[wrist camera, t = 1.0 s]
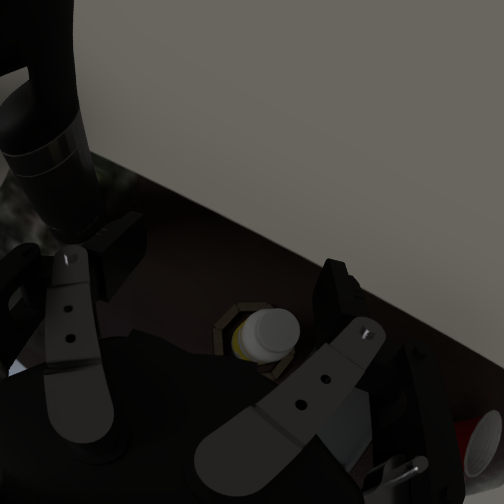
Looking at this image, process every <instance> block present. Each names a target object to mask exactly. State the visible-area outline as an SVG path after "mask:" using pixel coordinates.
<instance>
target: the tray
mask: <svg viewBox="0 0 504 504" xmlns="http://www.w3.org/2000/svg"><path fill="white" fill-rule="evenodd" d="M315 352H316V345H315V346H314V348H313V349H312V351H311V352H310V353H309V355H308V356H307V358H306V359H305V360H304V362H303V363H302V364H301V365H303V364H304V363H305V362H306V361H307V360H308V359H309V358H310V357H311V356H312V355H313V354H314V353H315ZM316 434H317V435H318V436H319V438H320V439H321V440H322V442H323V443H324V444H325V445H326V447H327V448H328V449H329V450H330V452H331V453H332V454H333V455H334V457H335V458H336V459H337V460H338V462H339V463H340V464H341V465H342V467H343V468H344V469H345V470H346V471H347V473H349V472H350V470H351V469H352V468H353V466H354V465H355V463H356V462H357V461H358V459H359V458H360V456H361V455H362V453H363V452H364V450H365V449H366V448H367V446H368V444H369V443H370V441H371V440H372V427H371V415H370V404H369V394H368V392H365V391H363V390H360V389H358V388H355V387H354V388H353V389H352V390H351V392H350V393H349V394H348V396H347V397H346V398H345V400H344V401H343V402H342V403H341V405H340V406H339V407H338V408H337V410H336V411H335V412H334V413H333V415H332V416H331V417H330V418H329V419H328V420H327V422H326V423H325V424H324V425H323V426H322V427H321V429H320V430H319V431H318V432H317V433H316Z"/></svg>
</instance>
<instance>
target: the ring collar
mask: <svg viewBox="0 0 504 504" xmlns="http://www.w3.org/2000/svg"><path fill="white" fill-rule="evenodd" d="M262 309H275V308H273V307H272V306H271V305H270V304H268V305H266V302H263V303H237V304H236V305H235V304H234V305H233V306H232V307H231V308H230V309H229V310H228V311H227V312H226V314H225V315H224V316H223V317H222V318H221V319H220V320H219V321H218V322H217V323H216V324H215V325H214V326H213V329H212V342H213V355H223V341H222V329H223V328H224V327H225V326H226V325H227V324H228V323H229V322H230V321H231V320H232V319H233V318H234V317H235V315H236V314H237V313H255V312H257V311H259V310H262ZM292 354H295V348H294V346H293V348H292V350H291V352H290V353H289V354H288V355H287V356H286V357H284V358H282V359H281V360H278V361H277V363H276V364H275V365H274V366H273V368H272V369H271V370H270V371H269V373H263V374H262V375H264V376H266V377H268V378H269V379H271V380H272V381H274V379H277V378H278V377H279V376H280V374H281V373H282V372H283V370H284V369H285V368H286V367H287V365H288V364H289V363H290V362H291V360H292V359H293V358H294V356H293V355H292Z"/></svg>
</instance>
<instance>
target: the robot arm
mask: <svg viewBox="0 0 504 504" xmlns="http://www.w3.org/2000/svg"><path fill="white" fill-rule="evenodd" d="M73 10H74V0H0V77H1V76H3V75H5V74H8V73H10V72H13V71H16V70H18V69H21V68H24V67H26V66H27V68H28V72H29V80H28V81H27V82H26V83H24V84H23V85H22V86H20V87H19V88H18V89H17V90H15V91H14V92H13V93H12V94H11V95H10V96H9V97H8V98H7V99H6V100H5V101H4V102H3V103H2V105H1V106H0V150H1V152H2V154H3V156H4V158H5V159H6V161H7V163H8V165H9V167H10V169H11V171H12V172H13V174H14V176H15V178H16V180H17V181H18V183H19V185H20V186H21V188H22V190H23V191H24V193H25V195H26V196H27V198H28V200H29V201H30V203H31V204H32V206H33V208H34V209H35V211H36V212H37V214H38V215H39V217H40V218H41V220H42V221H43V223H44V224H45V226H46V227H47V229H48V230H49V232H50V233H51V234H52V236H53V237H54V238H55V239H56V240H58V241H60V242H62V243H67V244H73V243H78V242H81V241H83V240H85V239H87V238H88V237H90V236H91V235H92V234H93V233H94V232H95V231H96V230H97V229H98V228H99V226H100V225H101V223H102V221H103V219H104V215H105V203H104V200H103V196H102V193H101V190H100V187H99V183H98V180H97V176H96V173H95V169H94V166H93V162H92V158H91V154H90V151H89V147H88V143H87V138H86V134H85V130H84V126H83V121H82V117H81V112H80V107H79V100H78V95H77V86H76V74H75V63H74V55H73V54H74V53H73ZM146 246H147V216H146V215H145V214H142V213H137V212H133V211H130V212H128V213H127V214H126V215H125V216H123V217H122V218H121V219H117V220H115V221H112V222H110V223H108V224H107V225H105V226H104V227H103V228H102V230H101V229H100V230H99V231H98V232H97V234H94V235H93V236H92V237H91V238H90V239H89V240H87V241H86V242H85V243H84V244H83V245H82V246H81V247H80V246H68V247H64V248H62V249H60V250H59V251H57V252H56V254H55V255H54V256H42V255H41V253H40V248H39V246H38V245H37V244H35V243H24V244H21V245H19V246H17V247H15V248H14V249H13V250H12V251H11V252H10V253H8V254H7V255H6V256H5V257H4V258H3V259H2V260H1V261H0V504H463V501H464V498H465V483H464V475H463V469H462V462H461V456H460V451H459V445H458V440H457V436H456V431H455V427H454V422H453V418H452V414H451V410H450V406H449V403H448V399H447V396H446V392H445V389H444V385H443V382H442V379H441V376H440V373H439V369H438V366H437V363H436V360H435V358H434V355H433V352H432V350H431V349H430V348H429V346H428V345H427V344H425V343H424V342H423V341H421V340H418V339H414V338H411V339H408V340H407V341H406V342H405V343H404V345H403V346H401V345H398V344H396V343H393V342H391V341H389V340H387V339H386V334H385V331H384V330H383V328H382V327H381V326H380V325H379V324H378V323H377V322H376V321H374V320H372V319H370V316H369V312H368V309H367V306H366V303H365V300H364V297H363V294H362V291H361V288H360V285H359V283H358V282H357V280H356V279H355V278H354V277H353V276H351V275H348V272H347V269H346V265H345V263H344V262H341V261H337V260H333V259H329V258H328V259H327V260H326V261H325V264H324V266H323V269H322V271H321V273H320V276H319V278H318V281H317V283H316V286H315V288H314V292H313V298H312V302H313V313H314V325H315V338H316V352H315V353H314V354H313V355H312V356H311V357H310V358H309V359H308V360H307V361H306V362H305V363H304V364H303V365H301V366H300V367H299V368H298V369H297V370H296V371H295V372H294V373H292V374H291V375H290V376H289V377H288V378H287V379H286V380H284V381H283V382H282V383H281V384H280V385H277V384H276V383H275V382H274V381H272V380H271V379H269V378H268V377H266V376H264V375H262V374H260V373H258V372H257V366H258V362H253V361H248V360H244V359H239V358H235V357H230V356H226V355H204V354H192V353H189V352H187V351H185V350H183V349H181V348H179V347H177V346H175V345H174V344H172V343H170V342H168V341H166V340H164V339H163V338H160V337H157V336H154V335H151V334H148V333H145V332H142V331H139V330H136V329H132V331H131V333H130V334H129V336H128V337H120V336H117V337H108V338H103V339H102V338H101V333H100V328H99V322H98V317H97V310H96V305H95V303H96V302H97V300H101V301H104V302H107V303H108V302H109V301H110V300H111V298H112V297H113V296H114V294H115V293H116V292H117V290H118V289H119V288H120V286H121V285H122V284H123V283H124V281H125V280H126V279H127V277H128V276H129V275H130V274H131V272H132V271H133V270H134V269H135V267H136V266H137V265H138V264H139V262H140V261H141V260H142V259H143V257H144V255H145V252H146ZM19 287H20V290H21V293H22V296H23V297H22V298H21V299H20V300H19V301H18V302H17V304H16V305H15V306H14V307H13V308H12V309H11V311H9V307H8V303H9V299H10V297H11V296H12V294H13V293H14V292H15V291H16V290H17V289H18V288H19ZM44 318H45V343H46V362H44V363H41V364H39V365H36V366H34V367H31V368H29V369H26V370H24V371H21V372H19V373H16V374H14V375H11V376H9V369H10V367H11V366H12V364H13V363H14V361H15V359H16V358H17V356H18V355H19V353H20V352H21V350H22V349H23V347H24V346H25V344H26V343H27V341H28V340H29V338H30V337H31V336H32V334H33V333H34V331H35V330H36V329H37V327H38V326H39V324H40V323H41V322H42V320H43V319H44ZM8 376H9V377H8ZM354 387H355V388H358V389H360V390H363V391H365V392H368V394H369V404H370V415H371V427H372V443H373V467H374V468H373V469H371V470H370V471H369V472H368V474H367V475H366V477H365V480H364V485H363V487H362V490H361V489H360V488H359V486H358V485H357V484H356V482H355V481H354V480H353V479H352V477H351V476H350V475H349V474H348V473H347V471H346V470H345V469H344V468H343V467H342V465H341V464H340V463H339V462H338V460H337V459H336V458H335V457H334V455H333V454H332V453H331V452H330V450H329V449H328V448H327V447H326V445H325V444H324V443H323V442H322V440H321V439H320V438H319V436H318V435H317V434H316V433H317V432H318V431H319V430H320V429H321V427H322V426H323V425H324V424H325V423H326V422H327V420H328V419H329V418H330V417H331V416H332V415H333V413H334V412H335V411H336V410H337V408H338V407H339V406H340V405H341V403H342V402H343V401H344V400H345V398H346V397H347V396H348V394H349V393H350V392H351V390H352V389H353V388H354ZM404 394H405V395H406V400H407V407H406V408H405V402H404V397H403V395H404Z"/></svg>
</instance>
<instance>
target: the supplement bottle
mask: <svg viewBox="0 0 504 504" xmlns="http://www.w3.org/2000/svg"><path fill="white" fill-rule="evenodd" d="M299 335H300V327H299V323H298V321H297V319H296V318H295V316H294V315H293V314H292V313H290V312H289V311H287V310H284V309H279V308H276V309H262V310H259V311H257V312H255V313H253V314H252V315H250V316H249V317H248V318H247V319H246V320H245V321H244V322H243V323H242V324H241V325H240V326H239V327H238V328H237V329H236V330H235V332H234V334H233V336H232V349H233V352H234V354H235V355H236V357H237V358H239V359H244V360H248V361H253V362H258V365H260V364H265V363H270V362H274V361H278V360H281V359H282V358H284V357H286V356H287V355H288V354H289V353H290V352H291V350H292V348H293V346H294V345H295V344H296V343H297V341H298V339H299Z"/></svg>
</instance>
